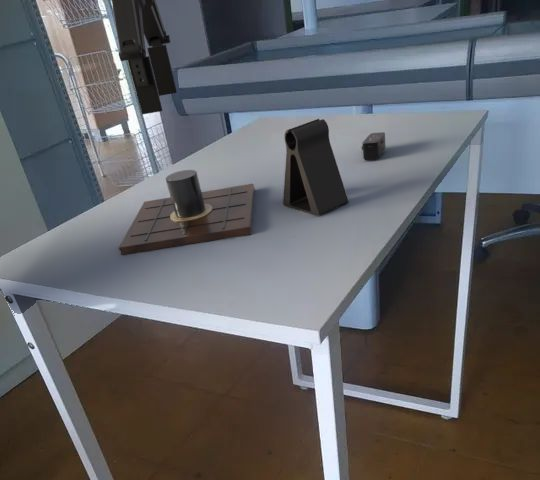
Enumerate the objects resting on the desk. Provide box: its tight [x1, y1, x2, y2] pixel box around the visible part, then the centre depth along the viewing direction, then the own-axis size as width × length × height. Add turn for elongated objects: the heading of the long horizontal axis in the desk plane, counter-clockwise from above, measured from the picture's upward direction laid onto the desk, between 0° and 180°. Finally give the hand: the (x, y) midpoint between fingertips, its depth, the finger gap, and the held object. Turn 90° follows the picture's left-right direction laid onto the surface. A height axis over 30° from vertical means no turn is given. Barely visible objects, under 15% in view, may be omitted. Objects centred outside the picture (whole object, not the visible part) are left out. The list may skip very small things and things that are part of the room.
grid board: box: [118, 183, 256, 255], centre depth 89 cm, size 20×20×1 cm
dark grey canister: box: [165, 169, 206, 218], centre depth 87 cm, size 5×5×6 cm
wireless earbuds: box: [360, 131, 386, 162], centre depth 101 cm, size 5×7×3 cm, turn 156°
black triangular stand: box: [282, 118, 349, 217], centre depth 82 cm, size 9×6×12 cm, turn 36°
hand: (160, 102), depth 79 cm, fingers open, 13 cm apart
